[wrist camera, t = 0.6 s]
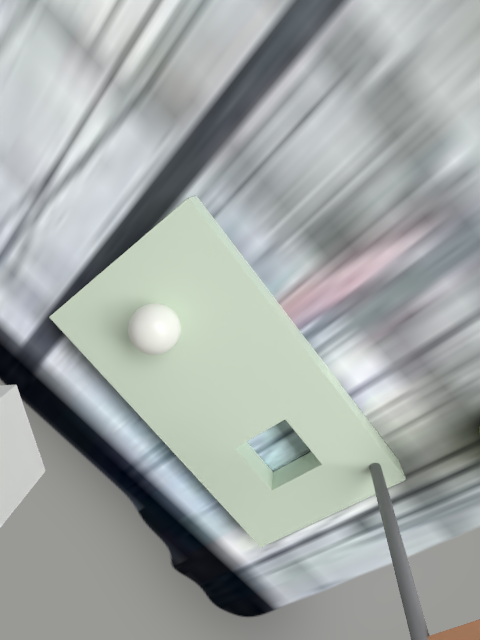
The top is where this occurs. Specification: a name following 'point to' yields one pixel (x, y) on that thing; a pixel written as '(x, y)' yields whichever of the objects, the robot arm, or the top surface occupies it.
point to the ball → (154, 328)
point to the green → (238, 389)
